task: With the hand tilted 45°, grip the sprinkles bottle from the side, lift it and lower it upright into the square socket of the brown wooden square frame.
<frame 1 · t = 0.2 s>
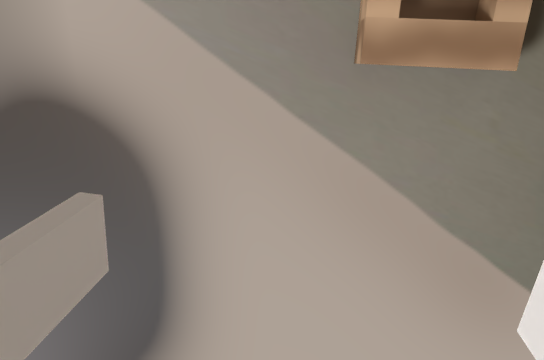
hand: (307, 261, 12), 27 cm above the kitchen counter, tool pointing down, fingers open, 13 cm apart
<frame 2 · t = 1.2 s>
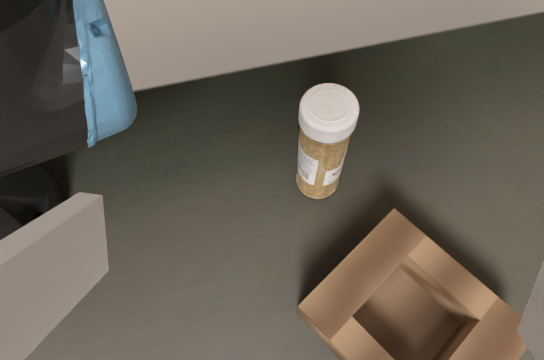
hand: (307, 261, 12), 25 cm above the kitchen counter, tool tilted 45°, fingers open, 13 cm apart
brown wooden square frame: (398, 323, 34), on the kitchen counter
sprinkles bottle: (316, 181, 41), on the kitchen counter
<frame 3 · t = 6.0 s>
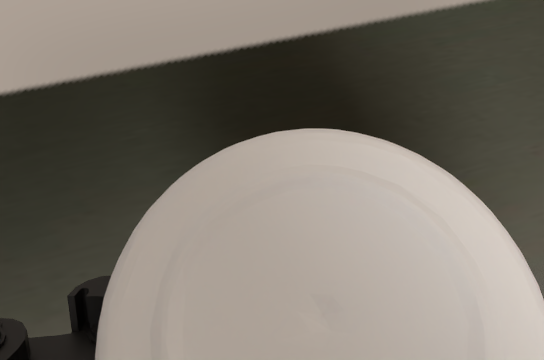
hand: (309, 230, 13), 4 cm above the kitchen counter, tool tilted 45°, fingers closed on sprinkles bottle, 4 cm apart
sprinkles bottle: (294, 348, 16), on the kitchen counter, touching gripper
when the fingers open (7 cm above the kitchen counter, at t = 11.3 s): sprinkles bottle drops 2 cm, resting on brown wooden square frame.
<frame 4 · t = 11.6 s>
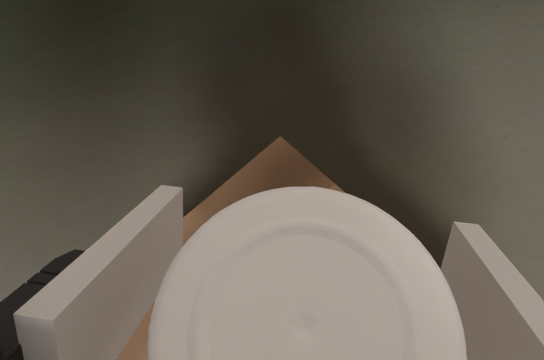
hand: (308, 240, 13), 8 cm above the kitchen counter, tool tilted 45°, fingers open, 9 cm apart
brown wooden square frame: (293, 349, 19), on the kitchen counter
sprinkles bottle: (291, 349, 17), point 1 cm above the kitchen counter, touching brown wooden square frame
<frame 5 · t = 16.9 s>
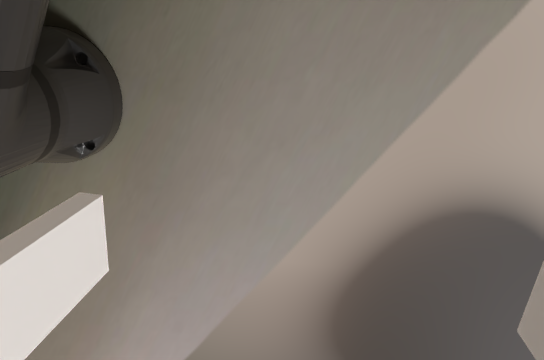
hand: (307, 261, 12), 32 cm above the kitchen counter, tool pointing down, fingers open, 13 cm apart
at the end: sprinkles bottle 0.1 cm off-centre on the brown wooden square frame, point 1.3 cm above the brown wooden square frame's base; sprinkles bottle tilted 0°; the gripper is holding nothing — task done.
